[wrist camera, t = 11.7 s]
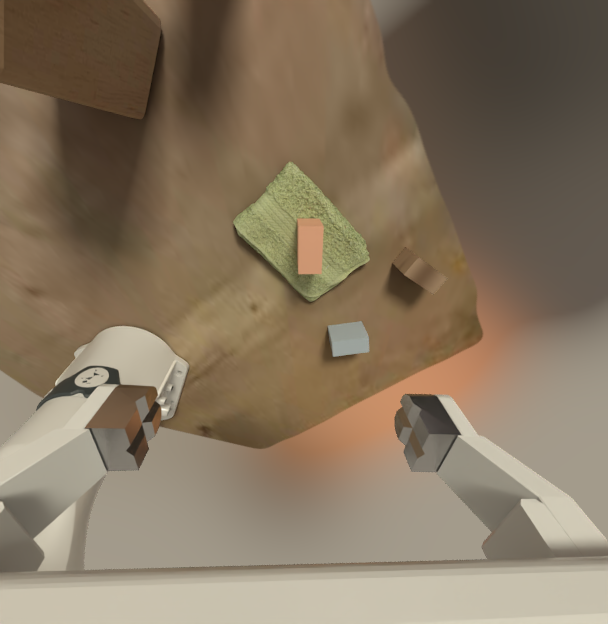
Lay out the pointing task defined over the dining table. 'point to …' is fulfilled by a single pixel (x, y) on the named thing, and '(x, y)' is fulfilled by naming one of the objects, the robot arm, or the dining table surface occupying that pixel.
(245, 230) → the washcloth
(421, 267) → the brick walnut
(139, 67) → the block
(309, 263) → the brick terracotta
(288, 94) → the dining table surface
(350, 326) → the brick slate
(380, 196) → the dining table surface
